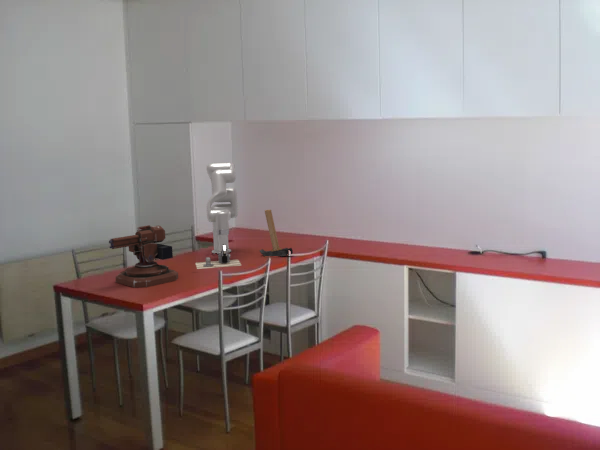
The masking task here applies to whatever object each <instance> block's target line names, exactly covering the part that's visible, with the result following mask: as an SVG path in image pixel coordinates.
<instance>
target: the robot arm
mask: <svg viewBox="0 0 600 450" xmlns="http://www.w3.org/2000/svg"><path fill="white" fill-rule="evenodd" d="M206 171H207V172H206V173H207V174H208V176H209V177H208V178H209V179H210V183H211V196H210V197H209V198H208V201H207V203H206V218H207V221H208V222H210V223H212V232H213V233H212V234H213V235H212V236H213V237H212V238H213V250H211V253H212V254H215V253H217V255H218V254H222V263H226V262H228V261H227V253H228V254H230V253H231V252H232V249H230V247H229V235H230V228H229V227H230V225H229V224H230V223H229V221H230V220H231V219H234V218H237V217H238V214H239V211H238V210H239V209H238V192H237V189H236V188H235V187H233V186H231V187H229V186H227V184H232V183H235V181H236V178H237V177H236V176H237V174H236V169H235V165H234V163H233V162H229V161H228V162H212V163H208V164H207V165H206ZM214 203H218V204H214ZM219 203H221V204H219ZM213 204H214V205H213Z"/></svg>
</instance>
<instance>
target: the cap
mask: <svg viewBox="0 0 600 450" xmlns="http://www.w3.org/2000/svg"><path fill="white" fill-rule="evenodd" d="M217 256H218V261H219V263H222V254H217ZM230 260H231V254H230V253H227V261H228V262H226V263H229V262H230Z"/></svg>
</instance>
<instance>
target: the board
mask: <svg viewBox="0 0 600 450" xmlns="http://www.w3.org/2000/svg"><path fill="white" fill-rule="evenodd" d="M241 263H242V262H241V261H240V260H239V259H230V262H229V263H219V260H215V261H213V260H211V257H205V261H200V262H195V267H196V269H197V270H199V269H215V268H224V267H225V268H227V267H239V266H242V264H241Z"/></svg>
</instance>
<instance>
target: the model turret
mask: <svg viewBox="0 0 600 450" xmlns="http://www.w3.org/2000/svg"><path fill="white" fill-rule="evenodd" d="M165 240H166V231H165V229H164V228H163V227H162V226H161V225H154V226H151V225H142V226H137V227H136V232H135V233H134V234H131V235H126V236H120V237H114V238H110V239H109V240H108V243H109V244H110V246H109V249H111V250H115V249H121V248H122V249H123V248H128V252H131V253H132V254H133V255H134V256H135V257H136V259H137V260H138V261H139V262H136V263H135V264H134V266H131V267H127V268H125V270H123V271H121V272H120V273H118V274H117V275H116V276H115V283H116V282H117V284H119V285H123V284H124V285H125V286H128V287H131V288H149V287H154V286H158V285H162V284H163V285H164V284H166V283H171V282H176V281H178V279H179V273H178V271H176V270H175V269H171V268H169V266H167V265H165V264H158V262H157V261H155V259H157V260H162V261H164V260H169V259H173V258H174V257H173V254H174V253H173V246H172V245H168V244H162V242H164V241H165Z"/></svg>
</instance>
